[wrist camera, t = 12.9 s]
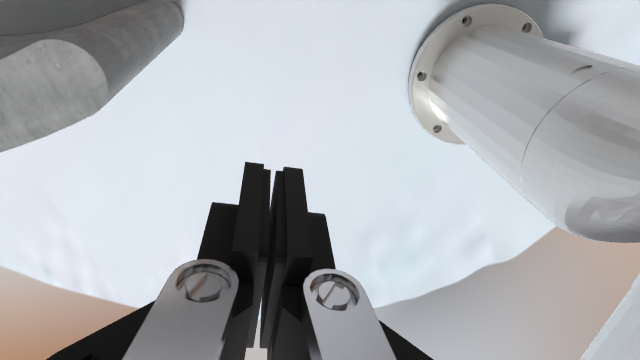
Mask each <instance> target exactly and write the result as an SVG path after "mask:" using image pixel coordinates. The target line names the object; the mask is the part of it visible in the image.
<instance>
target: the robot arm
mask: <svg viewBox="0 0 640 360" xmlns="http://www.w3.org/2000/svg"><path fill="white" fill-rule="evenodd" d="M463 18H465V21H464V22H463V23H462V20H463ZM522 27H523V28H522ZM419 72H421V74H420V76H417V75H418V73H419ZM408 93H409V102H410V105H411V108H412V111H413V114H414V115H415V117H416V119H417V121H418V122H419V123H420V124H421V126H422V127H423V128H424V129H425V130H426V131H427V132H428V133H429V134H430V135H432V136H433V137H435V138H437V139H439V140H441V141H443V142H447V143H451V144H458V145H468V146H469V147H470V148H471V149H472V150H473V151H474V152H475V153H476V154H477V155H478V156H479V157H481V158H482V159H483V160H484V161H485V162H486V163H487V164H488V165H489V166H490V167H491V168H492V169H493V170H495V171H496V172H497V173H498V174H499V175H500V176H501V177H502V178H503V179H504V180H505V181H506V182H508V183H509V184H510V185H511V186H512V187H513V188H514V189H515V190H516V191H517V192H518V193H519V194H521V195H522V196H523V197H524V198H525V199H526V200H527V201H528V202H529V203H531V204H532V205H533V206H534V207H535V208H536V209H537V210H538V211H539V212H541V213H542V214H543V215H544V216H545V217H546V218H547V219H549V220H550V221H551V222H552V223H554V224H555V225H557V226H558V227H560V228H562V229H563V230H565V231H567V232H569V233H572V234H574V235H577V236H580V237H582V238H586V239H591V240H596V241H603V242H617V243H638V242H640V66H639V65H635V64H632V63H628V62H625V61H621V60H618V59H615V58H611V57H608V56H604V55H601V54H597V53H594V52H590V51H587V50H583V49H580V48H577V47H573V46H570V45H566V44H563V43H559V42H556V41H552V40H549V39H545V38H544V37H543V34H542V31H541V30H540V28H539V27H538V25H537V24H536V22H535V21H534V20H533V19H532V18H531V17H530V16H529V15H527V14H526V13H524V12H522V11H521V10H519V9H517V8H514V7H510V6H507V5H501V4H493V3H490V4H480V5H475V6H472V7H469V8H465V9H463V10H461V11H459V12H457V13H455V14H453V15H451V16H450V17H449V18H447V19H446V20H445V21H443V22H442V23H441V24H439V25H438V26H437V27H436V28H435V29H434V30H433V32H432V33H431V34H430V35H429V36H428V37H427V38H426V40H425V41H424V43H423V44H422V46H421V47H420V49H419V51H418V53H417V55H416V57H415V59H414V61H413V64H412V68H411V72H410V75H409V85H408ZM435 125H436V126H435ZM434 126H435V127H434ZM270 176H271V170H267V169H264V164H258V163H250V162H245V167H244V174H243V180H242V187H241V193H240V200H239V205H234V204H225V203H215V202H213V203H212V205H211V208H210V212H209V216H208V220H207V223H206V227H205V231H204V235H203V239H202V242H201V246H200V250H199V254H198V257H197V260H193V261H190V262H187V263H184V264H182V265H181V266H179V267H178V268H176V269H175V270H174V271H173V273H172V274H171V275H170V276H169V278H168V280H167V282H166V283H165V285H164V287H163V289H162V290H161V292H160V294H159V296H158V298H157V299H156V300H155V301H153V302H151V303H150V304H148V305H146V306H144V307H142V308H140V309H138V310H136V311H135V312H132V313H131V314H129V315H127V316H125V317H123V318H121V319H119V320H117V321H116V322H114V323H112V324H110V325H108V326H106V327H104V328H102V329H100V330H98V331H96V332H95V333H93V334H91V335H89V336H87V337H85V338H83V339H81V340H79V341H77V342H76V343H74V344H72V345H70V346H68V347H66V348H64V349H62V350H60V351H59V352H57V353H55V354H54V355H52V356H51V357H49V358H48V359H46V360H244V358H245V352H246V348H253V345H254V339H255V333H256V327H257V321H258V315H259V309H260V303H261V297H262V304H261V328H260V348H268V353H267V360H433V359H432V358H430V357H429V356H428V355H426V354H425V353H423V352H422V351H421V350H419V349H418V348H417V347H415V346H414V345H412V344H411V343H410V342H408V341H407V340H406V339H404V338H403V337H401V336H400V335H399V334H397V333H396V332H395V331H393V330H392V329H390V328H389V327H387V326H386V325H385V324H384V323H382V322H381V321H379V320H378V318H377V316H376V314H375V312H374V309H373V307H372V305H371V303H370V301H369V298H368V296H367V294H366V292H365V290H364V288H363V287H362V285H361V284H360V282H359V281H357V280H356V279H355V278H354V277H353V276H351V275H349V274H347V273H345V272H342V271H339V270H336V268H335V263H334V258H333V253H332V247H331V242H330V237H329V232H328V227H327V221H326V217H325V215H324V214H320V213H311V212H308V209H307V201H306V193H305V185H304V177H303V170H302V169H298V168H290V167H284V168H283V171H276V174H275V181H274V187H273V193H272V200H271V206H270ZM580 360H640V273H639V275H638V276H637V278H636V279H635V281H634V282H633V284H632V286H631V289H630V290H629V292H628V293H627V295H626V296H625V297H624V299H623V300H622V301H621V303H620V304H619V305H618V307H617V308H616V309H615V311H614V312H613V313H612V315H611V316H610V317H609V319H608V320H607V321H606V323H605V324H604V326H603V327H602V328H601V330H600V331H599V332H598V334H597V335H596V336H595V338H594V339H593V340H592V342H591V343H590V345H589V346H588V348H587V349H586V351H585V352H584V354H583V355H582V357H581V358H580Z"/></svg>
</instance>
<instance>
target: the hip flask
mask: <svg viewBox="0 0 640 360" xmlns="http://www.w3.org/2000/svg"><path fill="white" fill-rule="evenodd" d="M183 27H184V18H183V14H182V12H181V10H180V9H179V7H178V6H177V5H176V4H175V3H174V2H173V1H171V0H145V1H143V2H140V3H137V4H135V5H132V6H129V7H127V8H124V9H121V10H119V11H116V12H113V13H110V14H108V15H105V16H102V17H100V18H97V19H94V20H92V21H89V22H86V23H84V24H81V25H78V26H73V27H69V28H65V29H60V30H54V31H48V32H41V33H33V34H23V35H0V152H3V151H6V150H9V149H12V148H15V147H18V146H21V145H24V144H27V143H29V142H32V141H35V140H37V139H40V138H43V137H45V136H48V135H50V134H52V133H55V132H57V131H59V130H62V129H64V128H66V127H69V126H71V125H73V124H75V123H77V122H79V121H81V120H83V119H85V118H87V117H89V116H92V115H93V114H95V113H96V112H98V111H99V110H100V109H101V108H102V107H103V106H105V105H106V104H107V103H108V102H109V101H110V100H111V99H112V98H113V97H114V96H115V95H116V94H117V93H118V92H119V91H120V90H122V89H123V88H124V87H125V86H126V85H127V84H128V83H129V82H130V81H131V80H132V79H133V78H134V77H135V76H136V75H138V74H139V73H140V72H141V71H142V70H143V69H144V68H145V67H146V66H147V65H148V64H149V63H150V62H151V61H152V60H153V59H155V58H156V57H157V56H158V55H159V54H160V53H161V52H162V51H163V50H164V49H165V48H166V47H167V46H168V45H169V44H171V43H172V42H173V41H174V40H175V39H176V38H177V37H178V36H179V35H180V34H181V32H182V30H183Z"/></svg>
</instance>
